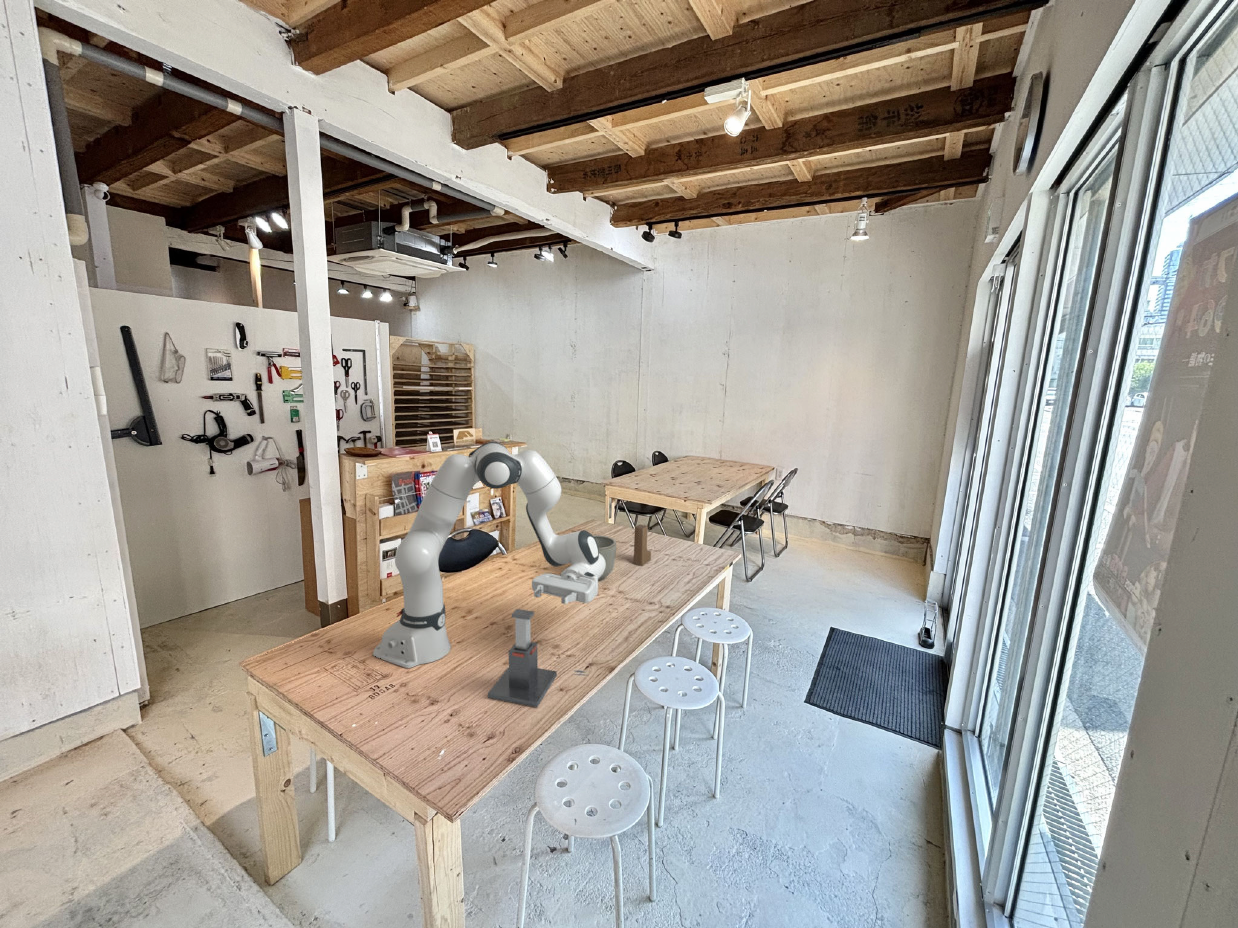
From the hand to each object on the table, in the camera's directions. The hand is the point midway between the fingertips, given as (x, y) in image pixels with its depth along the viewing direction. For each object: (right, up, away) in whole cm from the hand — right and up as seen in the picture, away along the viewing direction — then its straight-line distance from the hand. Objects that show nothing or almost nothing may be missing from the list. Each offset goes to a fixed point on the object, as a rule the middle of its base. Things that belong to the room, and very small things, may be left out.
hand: (549, 598), depth 143 cm
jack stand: (-6, -23, -7) cm, 24 cm away
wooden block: (+31, -7, +85) cm, 91 cm away
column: (-6, -21, -7) cm, 23 cm away
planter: (+10, -10, +67) cm, 69 cm away
